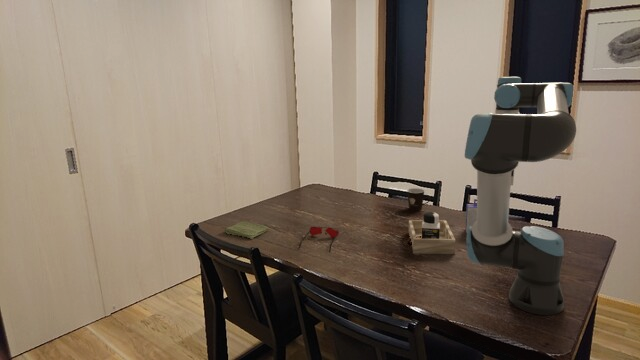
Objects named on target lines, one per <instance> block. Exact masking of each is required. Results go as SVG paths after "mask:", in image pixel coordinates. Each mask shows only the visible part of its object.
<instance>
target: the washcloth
mask: <svg viewBox="0 0 640 360" xmlns="http://www.w3.org/2000/svg"><path fill="white" fill-rule="evenodd" d="M269 229H270V228H269V227H268V226H265V225H263V224H259V223H258V224H257V223H254V222H253V223H252V222H249V221H240V222H236V223H235V224H234V225H231V226H228V227H226V228H224V233H225V232H226V233H227V235H230V234H233V235H232V236H234V235H238V236H237V237H239V236H242V237H241V238H244V237H247V238H246V239H248V238H250V239H249V240H253V239H254V237H255V238H257V237H258V236H261V235H262V234H265V232H267V231H269ZM226 233H225V234H226Z"/></svg>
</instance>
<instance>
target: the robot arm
mask: <svg viewBox="0 0 640 360" xmlns="http://www.w3.org/2000/svg"><path fill="white" fill-rule="evenodd" d="M573 97H574V85H573V84H572V83H570V82H561V81H560V82H559V81H558V82H542V83H541V82H539V83H538V82H536V83H535V82H532V83H522V78H521V77H520V76H500V77H499V78H498V79H497V84H496V89H495V91H494V95H493V98H494V102H495V104H496V105H495V112H494V113H492V112H489V113H478V114H474V115H473V116H472V118H471V119H470V124H469V127H468V133H467V137H466V143H465V147H464V158H465V159H468V160H470V162H471V165H472V167H473V168H474V169H475V170H476V179H477V182H476V191H477V192H476V199H477V201H476V203H477V221H476V222H475V223H474V224H473V226H470V227H469V228H468V231H467V233H466V240H465V241H466V252H467V258H468V259H469V261H471V262H472V263H475V264H480V265H483V266H485V265H487V266H492V267H500V268H506V269H511V270H512V269H513V270H517V274H516V277H515V279H514V281H513V283H512V285H511V287H510V288H509V295H508V300H509V301H510V303H511V304H512V305H513V306H515V308H516V307H517V308H518V309H519V310H522V311H524V312H527V313H530V314H535V315H539V316H554V315H558V314H559V313H562V311H563V310H564V308H565V307H564V306H565V299H564V294H563V291H562V290H563V289H562V287H561V284H560V283H561V275H562V265H563V256H564V254H565V250H564V248H565V241H564V240H563V238H562V236H561V235H559V234H558V233H556V232H555V231H553V230H550V229H549V228H544V227H541V226H535V225H525V226H522V228H521V229H520V230H513V226H512V225H511V224H510V223H509V215H510V200H511V186H514V177H515V169H517V167H518V166H519V162H520V163H521V162H522V163H537V162H538V163H539V162H543V161H546V160H547V161H548V160H550V159H552V158H555V157H556V156H558V155H560V154H561V153H563V152H564V151H566V150H567V149H568V148H569V147H570V146H571V145H572V143H573V142H574V140H575V138H576V135H577V126H576V121H575V120H574V117H573V116H572V114H570V113H569V107H570V106H571V105H572V102H573ZM520 108H536V109H537V112H536V113H537V114H533V113H532V114H531V113H530V114H529V113H528V114H526V113H525V114H524V113H523V114H522V113H520Z"/></svg>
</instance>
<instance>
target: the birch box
mask: <svg viewBox="0 0 640 360" xmlns="http://www.w3.org/2000/svg"><path fill="white" fill-rule="evenodd" d="M423 221H424V219H408V236H410V237H411V241H410V243H411V242H412V245H411V249H412V254H413V255H414V254H415V255H417V254H419V255H421V254H422V255H426V254H427V255H456V238H455V236H454V234H453V232H452V230H451V227H450V226H449V223H448V222H447V220H446V219H439V223H440V239H422V238H416V236H422V222H423ZM410 237H409V238H410Z"/></svg>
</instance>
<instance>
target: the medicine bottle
mask: <svg viewBox="0 0 640 360" xmlns="http://www.w3.org/2000/svg"><path fill="white" fill-rule="evenodd" d="M439 218H440V217H439V214H438V213H437V212H433V211H428V212H425V213H424V214H423V220H424V221H423V222H422V239H440V223H439V220H440V219H439Z"/></svg>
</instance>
